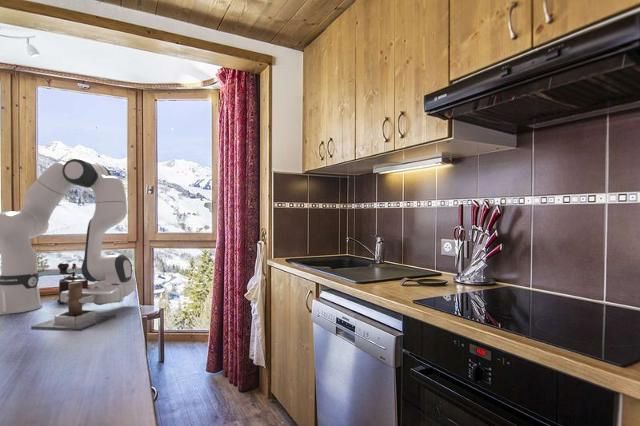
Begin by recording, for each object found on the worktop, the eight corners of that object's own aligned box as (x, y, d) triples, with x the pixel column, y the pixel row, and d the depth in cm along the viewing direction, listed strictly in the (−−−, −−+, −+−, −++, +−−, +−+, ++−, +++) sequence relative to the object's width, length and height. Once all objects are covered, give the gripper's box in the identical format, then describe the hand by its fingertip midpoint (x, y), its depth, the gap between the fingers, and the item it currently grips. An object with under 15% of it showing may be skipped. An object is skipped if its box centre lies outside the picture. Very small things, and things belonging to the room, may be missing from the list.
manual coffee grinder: (56, 300, 160) (57, 259, 161) (86, 297, 167) (86, 258, 167) (57, 307, 148) (57, 263, 148) (89, 303, 154) (89, 261, 155)
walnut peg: (65, 319, 124) (65, 283, 125) (74, 315, 128) (74, 281, 129) (76, 319, 124) (76, 284, 124) (85, 316, 128) (85, 282, 128)
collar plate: (31, 328, 119) (31, 318, 119) (70, 315, 135) (70, 306, 135) (80, 330, 117) (80, 320, 117) (115, 317, 133) (115, 308, 133)
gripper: (77, 283, 140) (46, 290, 127) (126, 284, 138) (100, 292, 124) (77, 300, 140) (46, 309, 127) (126, 301, 138) (99, 310, 124)
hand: (73, 300), depth 125 cm, fingers closed on walnut peg, 4 cm apart
